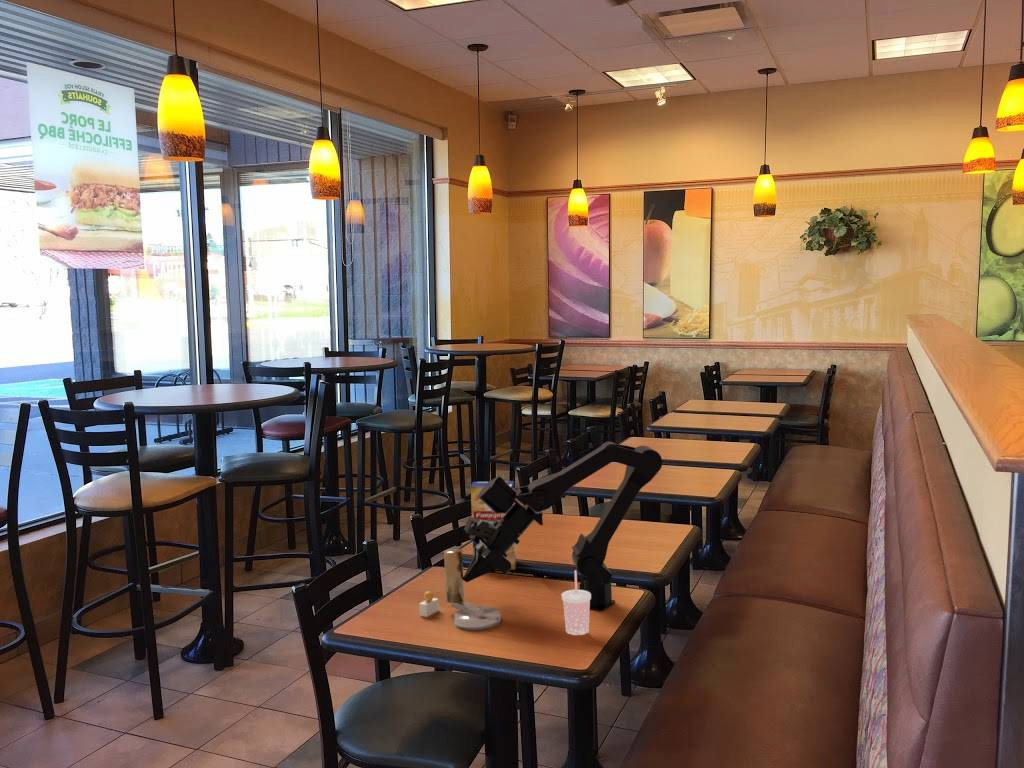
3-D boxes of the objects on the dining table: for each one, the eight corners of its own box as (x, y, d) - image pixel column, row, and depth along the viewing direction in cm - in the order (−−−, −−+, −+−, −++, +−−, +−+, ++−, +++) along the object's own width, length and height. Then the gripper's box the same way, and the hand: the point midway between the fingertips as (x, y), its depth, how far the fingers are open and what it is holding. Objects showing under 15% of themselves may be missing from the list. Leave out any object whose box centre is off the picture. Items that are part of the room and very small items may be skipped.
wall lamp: (510, 621, 181) (507, 558, 180) (472, 634, 175) (469, 569, 173) (468, 604, 193) (466, 544, 191) (431, 615, 186) (429, 554, 185)
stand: (531, 621, 184) (530, 593, 184) (483, 648, 170) (482, 618, 170) (453, 603, 197) (452, 577, 197) (403, 627, 183) (401, 599, 183)
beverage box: (515, 569, 221) (512, 486, 219) (473, 570, 222) (470, 487, 220) (516, 561, 228) (513, 480, 226) (476, 562, 229) (472, 481, 227)
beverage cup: (591, 643, 171) (589, 575, 170) (561, 642, 172) (558, 574, 171) (593, 631, 177) (591, 566, 176) (564, 630, 178) (562, 565, 177)
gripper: (476, 495, 196) (431, 546, 195) (494, 513, 178) (444, 570, 176) (511, 525, 199) (466, 576, 197) (531, 546, 181) (483, 603, 179)
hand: (464, 580), depth 187 cm, fingers closed, pressing on wall lamp
